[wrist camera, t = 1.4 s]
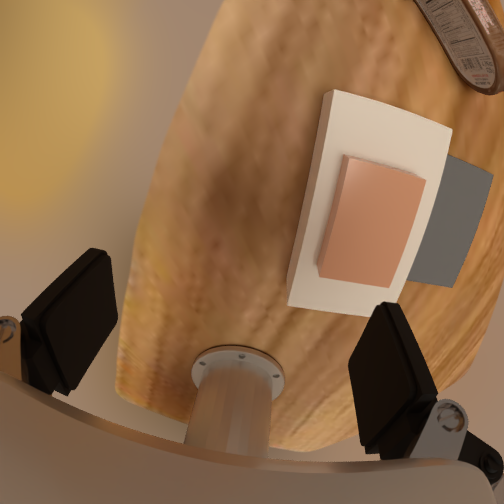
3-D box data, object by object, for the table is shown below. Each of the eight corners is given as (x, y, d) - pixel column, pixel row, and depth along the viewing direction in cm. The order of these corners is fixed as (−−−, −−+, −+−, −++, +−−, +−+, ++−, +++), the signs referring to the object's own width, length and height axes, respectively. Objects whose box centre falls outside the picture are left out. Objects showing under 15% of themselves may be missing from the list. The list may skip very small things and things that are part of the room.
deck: (375, 290, 30) (388, 319, 26) (286, 276, 30) (286, 305, 26) (425, 124, 22) (452, 129, 17) (324, 93, 22) (334, 89, 17)
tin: (480, 89, 19) (534, 92, 11) (461, 98, 20) (515, 101, 12) (405, -37, 14) (439, -71, 6) (382, -32, 15) (413, -70, 7)
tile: (382, 275, 24) (389, 288, 22) (316, 264, 24) (318, 277, 22) (415, 173, 19) (426, 180, 18) (343, 154, 20) (349, 158, 18)
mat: (451, 286, 29) (452, 287, 29) (381, 274, 29) (382, 276, 29) (492, 174, 23) (493, 175, 22) (421, 144, 23) (422, 145, 22)
